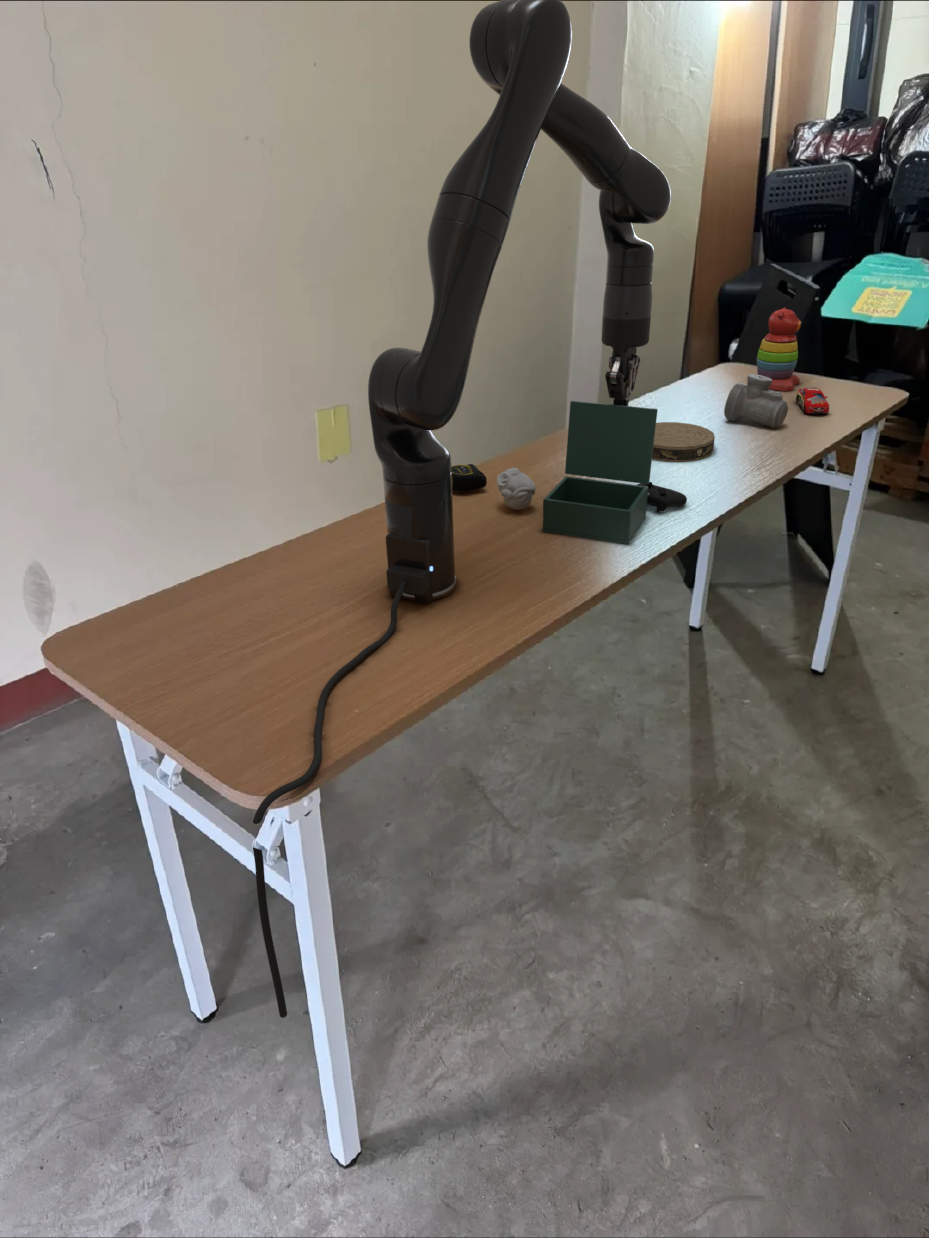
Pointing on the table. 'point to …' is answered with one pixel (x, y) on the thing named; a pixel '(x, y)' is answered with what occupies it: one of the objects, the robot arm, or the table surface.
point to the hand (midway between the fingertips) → (619, 420)
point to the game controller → (663, 497)
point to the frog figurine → (515, 488)
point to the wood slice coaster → (681, 442)
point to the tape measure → (467, 478)
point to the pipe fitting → (756, 402)
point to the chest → (595, 509)
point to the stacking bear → (780, 350)
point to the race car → (812, 401)
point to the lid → (610, 441)
